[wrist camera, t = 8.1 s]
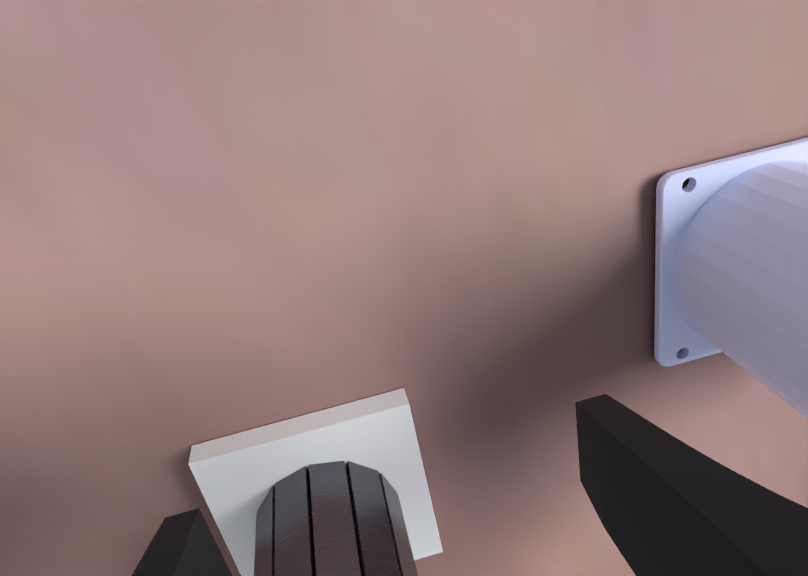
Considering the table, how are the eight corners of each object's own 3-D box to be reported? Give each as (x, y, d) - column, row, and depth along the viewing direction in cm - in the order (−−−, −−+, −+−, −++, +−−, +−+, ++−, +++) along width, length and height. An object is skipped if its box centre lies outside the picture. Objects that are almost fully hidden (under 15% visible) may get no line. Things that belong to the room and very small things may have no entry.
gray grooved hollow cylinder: (398, 454, 22) (428, 565, 18) (397, 556, 25) (423, 676, 20) (251, 471, 21) (244, 593, 17) (263, 575, 24) (260, 707, 19)
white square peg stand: (404, 388, 22) (434, 482, 18) (437, 533, 26) (470, 642, 21) (192, 445, 22) (169, 559, 17) (256, 586, 25) (252, 710, 21)
